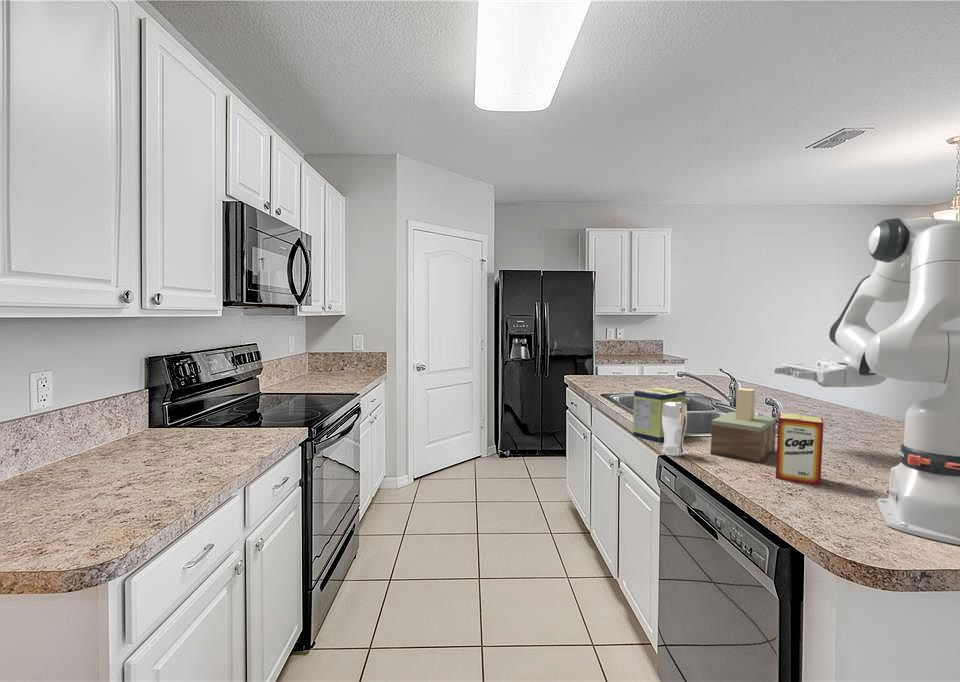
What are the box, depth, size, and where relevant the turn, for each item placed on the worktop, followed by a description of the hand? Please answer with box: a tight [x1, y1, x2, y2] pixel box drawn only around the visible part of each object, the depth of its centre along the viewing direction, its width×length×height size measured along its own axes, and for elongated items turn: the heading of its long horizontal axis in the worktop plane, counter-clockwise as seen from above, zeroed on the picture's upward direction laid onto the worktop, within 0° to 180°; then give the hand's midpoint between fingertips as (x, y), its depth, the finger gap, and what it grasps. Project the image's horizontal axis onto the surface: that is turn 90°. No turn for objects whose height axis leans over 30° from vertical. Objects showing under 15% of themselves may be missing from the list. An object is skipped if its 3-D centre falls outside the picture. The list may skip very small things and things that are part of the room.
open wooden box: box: [710, 421, 777, 464], centre depth 152 cm, size 18×13×9 cm
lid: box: [711, 387, 777, 432], centre depth 151 cm, size 18×13×11 cm
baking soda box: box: [775, 413, 825, 486], centre depth 128 cm, size 10×6×16 cm
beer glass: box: [662, 402, 688, 457], centre depth 150 cm, size 7×7×15 cm
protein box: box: [632, 386, 687, 443], centre depth 171 cm, size 10×16×16 cm
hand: (785, 372), depth 151 cm, fingers open, 8 cm apart
